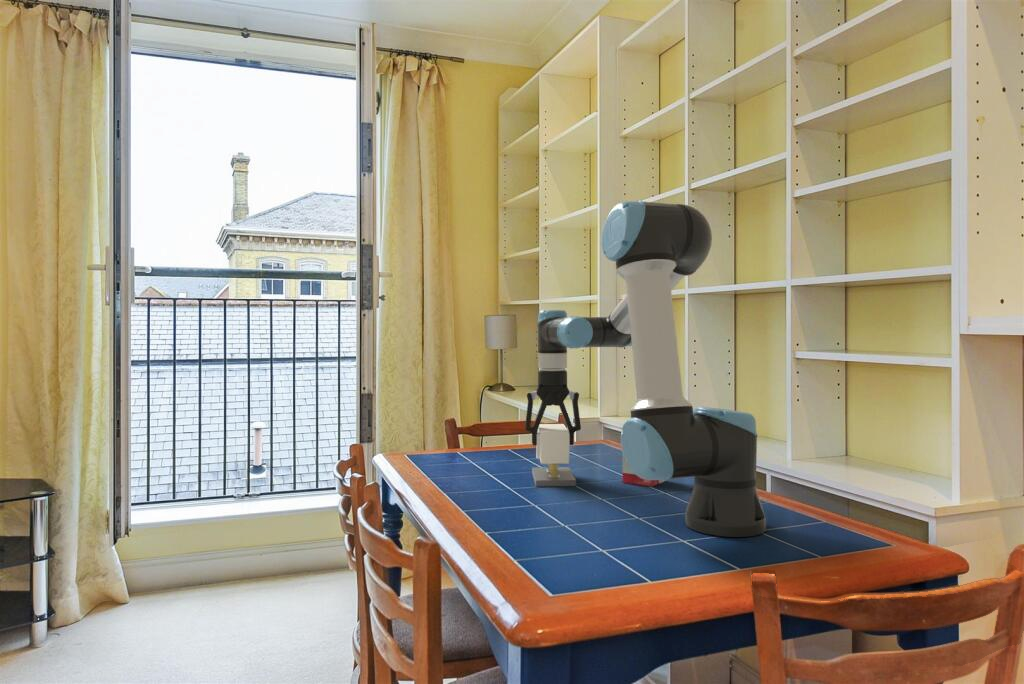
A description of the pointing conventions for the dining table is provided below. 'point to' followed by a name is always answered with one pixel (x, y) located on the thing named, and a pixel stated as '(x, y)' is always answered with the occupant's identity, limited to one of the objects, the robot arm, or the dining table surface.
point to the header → (553, 476)
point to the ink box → (636, 477)
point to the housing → (554, 443)
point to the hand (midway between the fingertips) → (552, 457)
